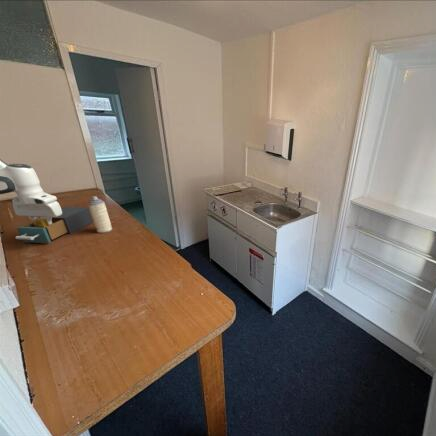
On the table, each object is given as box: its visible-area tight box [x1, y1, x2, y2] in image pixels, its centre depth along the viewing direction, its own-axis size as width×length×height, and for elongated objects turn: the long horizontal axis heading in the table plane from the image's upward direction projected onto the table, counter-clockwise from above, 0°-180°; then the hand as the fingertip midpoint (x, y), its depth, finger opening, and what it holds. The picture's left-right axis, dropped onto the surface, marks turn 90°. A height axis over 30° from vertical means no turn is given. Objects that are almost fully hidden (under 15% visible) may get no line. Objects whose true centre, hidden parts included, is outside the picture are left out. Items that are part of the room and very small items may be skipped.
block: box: [31, 217, 53, 228], centre depth 117 cm, size 4×4×4 cm
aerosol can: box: [88, 195, 113, 234], centre depth 127 cm, size 7×7×20 cm
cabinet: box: [38, 206, 94, 235], centre depth 130 cm, size 16×14×10 cm
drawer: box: [15, 219, 68, 244], centre depth 118 cm, size 19×12×8 cm, turn 0°
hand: (43, 223), depth 118 cm, fingers closed on block, 4 cm apart
